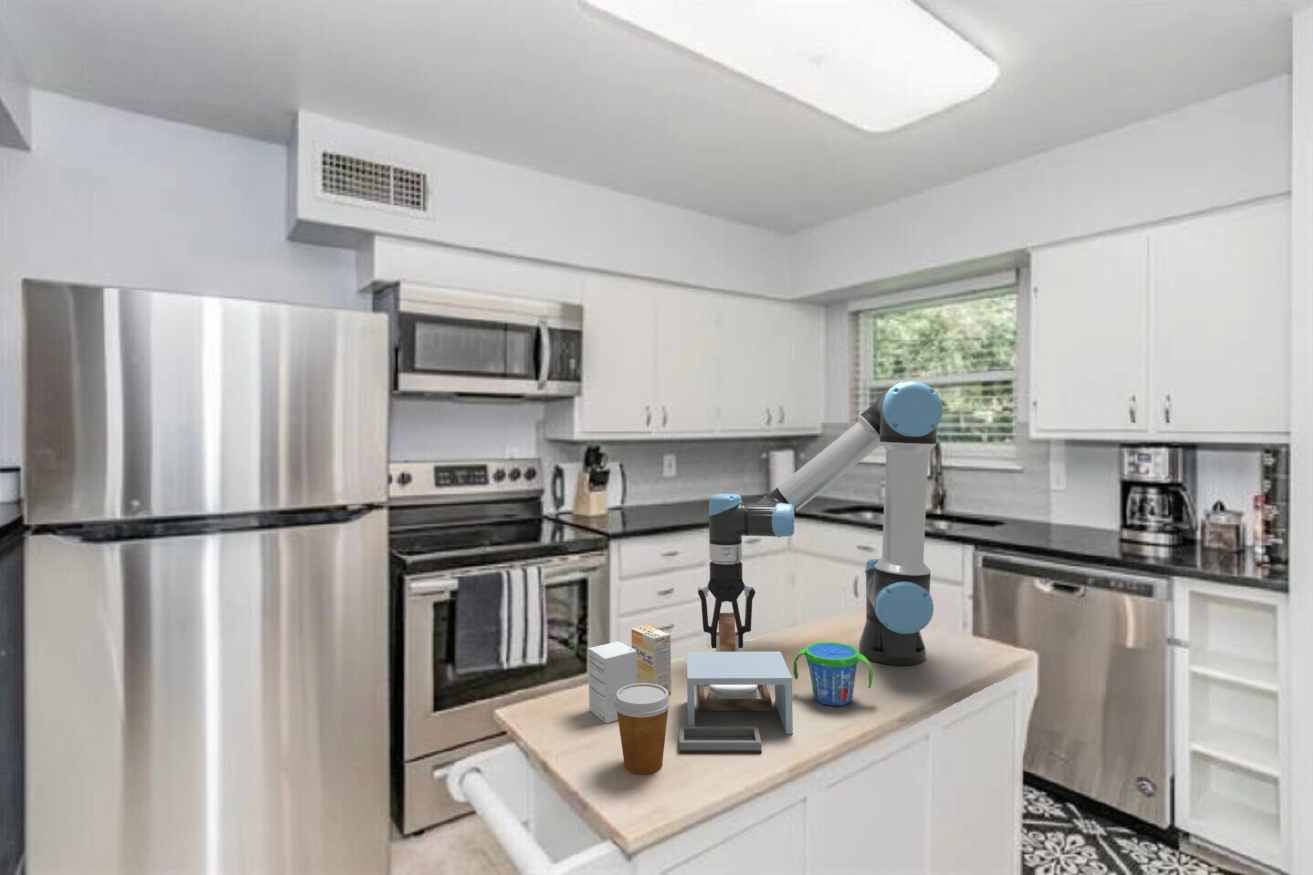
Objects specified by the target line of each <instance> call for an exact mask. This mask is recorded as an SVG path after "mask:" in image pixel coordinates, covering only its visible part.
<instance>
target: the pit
mask: <svg viewBox="0 0 1313 875" xmlns="http://www.w3.org/2000/svg"><path fill="white" fill-rule="evenodd" d="M678 736H679V753H680V754H762V752H763V751H762V749H763V748H762V740H761V735H760V731H759V727H758V726H695V727H688V726H679V735H678Z"/></svg>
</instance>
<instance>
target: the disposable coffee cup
mask: <svg viewBox="0 0 1313 875" xmlns="http://www.w3.org/2000/svg"><path fill="white" fill-rule="evenodd" d="M671 704H672V699H671V697H670V695H668V691H667V690H666V689H665V688H664V687H662V686H660V685H656V684H651V683H637V684H631V685H627V686H625V687H623V688H620V689H619V690H618V691H617V694H616V698H615V699H614V706H615V708H616V710H617V715H618V720H617V722H618V730H619V736H620V742H621V744H620V745H621V750H622V756H623V757H622V758H623V765H624V769H625V770H626V771H628V772H629V773H632V774H636V775H649V774H653V773H655V772H658V771H659V770H661V769H662V767H663V763H664V762H663V761H664V760H663V759H664V752H665V743H666V734H667V726H668V725H667V724H668V714H669V708H670V706H671Z"/></svg>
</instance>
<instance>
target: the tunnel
mask: <svg viewBox="0 0 1313 875" xmlns="http://www.w3.org/2000/svg"><path fill="white" fill-rule="evenodd" d="M698 685H704V686H709V685H758V686H759V685H767V686H770V685H771V686H773V685H774V702H775V705H776V708H777V711H778V714H779V716H780V717H779V718H780V719H781V723H782V726H783V729H784V732H785V734H786V735H793V734H794V729H793V728H794V726H793V725H794V723H793V721H794V720H793V717H794V716H793V713H794V712H793V677H792V674H791V673H790V670H789V668H788V666H787V663H786V661H785V659H784V657H783V654H782V652H781V651H739V652H716V651H686V689H687V690H686V691H687V694H686V696H687V698H686V699H687V700H686V701H687V702H686V703H687V727H696V724H695V722H696V721H695V720H696V719H695V713H696V712H695V686H698Z"/></svg>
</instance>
